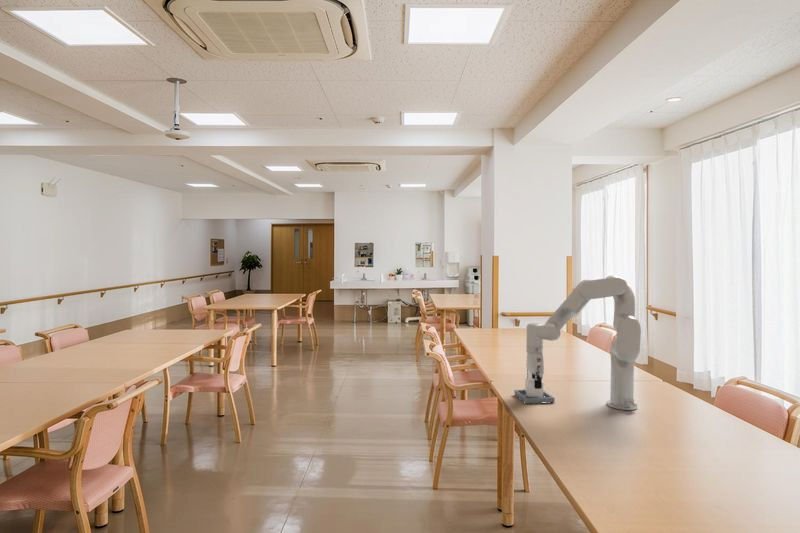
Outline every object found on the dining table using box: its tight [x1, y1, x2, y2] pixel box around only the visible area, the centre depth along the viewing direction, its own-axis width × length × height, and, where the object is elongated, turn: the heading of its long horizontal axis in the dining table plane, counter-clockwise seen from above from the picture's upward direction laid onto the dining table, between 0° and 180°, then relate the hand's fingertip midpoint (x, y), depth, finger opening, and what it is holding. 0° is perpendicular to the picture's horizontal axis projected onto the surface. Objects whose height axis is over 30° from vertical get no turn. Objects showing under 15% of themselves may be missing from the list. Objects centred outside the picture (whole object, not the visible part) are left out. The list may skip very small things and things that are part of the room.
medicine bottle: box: [524, 370, 544, 397], centre depth 216 cm, size 7×7×12 cm
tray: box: [513, 389, 555, 404], centre depth 216 cm, size 14×14×2 cm
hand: (534, 385), depth 216 cm, fingers closed on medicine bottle, 8 cm apart
